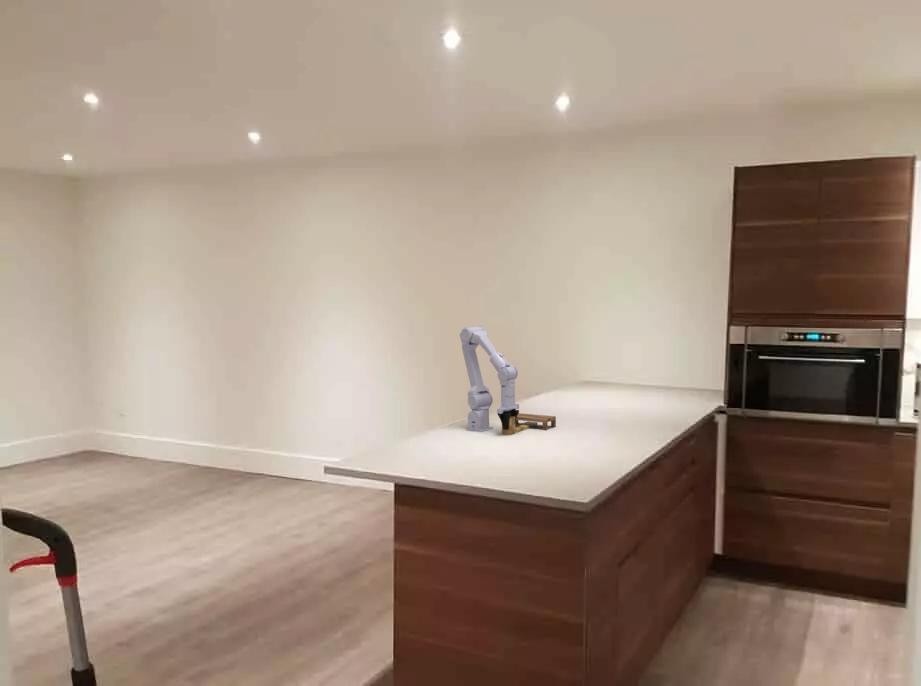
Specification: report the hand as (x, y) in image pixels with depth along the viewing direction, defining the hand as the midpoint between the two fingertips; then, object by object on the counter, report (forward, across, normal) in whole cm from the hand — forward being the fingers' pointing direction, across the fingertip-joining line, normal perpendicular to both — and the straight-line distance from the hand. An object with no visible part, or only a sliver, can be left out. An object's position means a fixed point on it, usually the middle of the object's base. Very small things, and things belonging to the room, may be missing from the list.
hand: (508, 428), depth 308 cm
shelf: (+2, +18, 0) cm, 18 cm away
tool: (+2, +6, 0) cm, 7 cm away
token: (+2, +18, 0) cm, 18 cm away
